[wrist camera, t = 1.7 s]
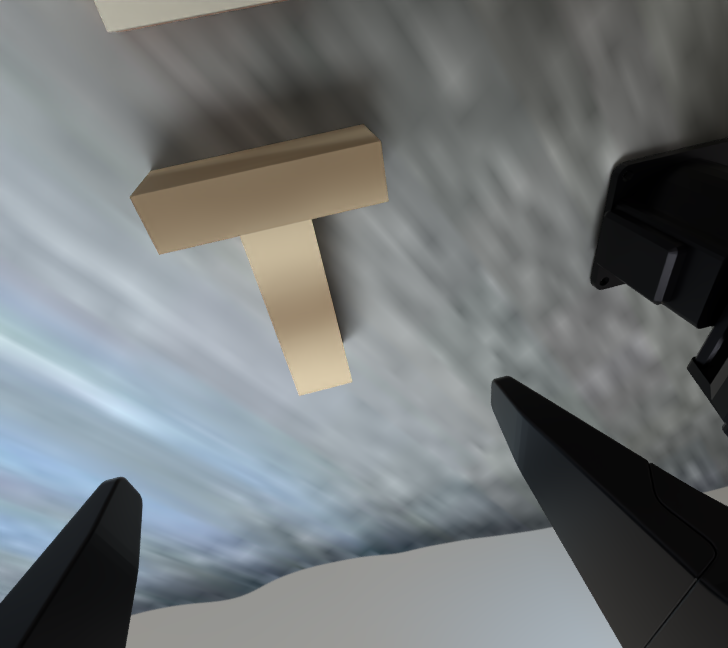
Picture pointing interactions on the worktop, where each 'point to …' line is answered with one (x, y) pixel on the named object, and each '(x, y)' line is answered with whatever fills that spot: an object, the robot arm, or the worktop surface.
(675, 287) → the robot arm
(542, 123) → the worktop surface
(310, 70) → the worktop surface
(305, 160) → the wooden pusher
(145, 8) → the pale beige block
